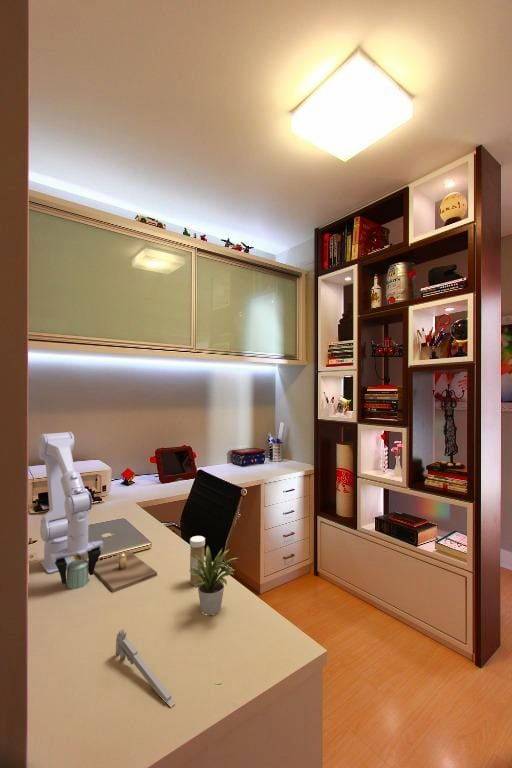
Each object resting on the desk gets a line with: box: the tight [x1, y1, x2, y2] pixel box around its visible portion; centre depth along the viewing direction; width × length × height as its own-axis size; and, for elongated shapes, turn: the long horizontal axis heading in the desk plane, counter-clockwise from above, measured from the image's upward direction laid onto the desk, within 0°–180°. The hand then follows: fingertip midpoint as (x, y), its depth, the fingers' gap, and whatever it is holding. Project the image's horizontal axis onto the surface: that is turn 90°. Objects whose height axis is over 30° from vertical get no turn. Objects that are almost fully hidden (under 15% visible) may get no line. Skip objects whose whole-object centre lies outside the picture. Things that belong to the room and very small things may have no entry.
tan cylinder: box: [118, 552, 126, 570], centre depth 118 cm, size 2×2×5 cm
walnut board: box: [93, 551, 158, 593], centre depth 118 cm, size 20×14×1 cm
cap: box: [66, 559, 89, 590], centre depth 110 cm, size 6×6×6 cm
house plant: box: [188, 545, 239, 616], centre depth 96 cm, size 14×14×16 cm
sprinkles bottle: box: [189, 535, 206, 587], centre depth 112 cm, size 5×5×14 cm
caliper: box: [115, 628, 175, 705], centre depth 75 cm, size 20×1×6 cm, turn 49°
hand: (77, 578), depth 110 cm, fingers open, 7 cm apart
